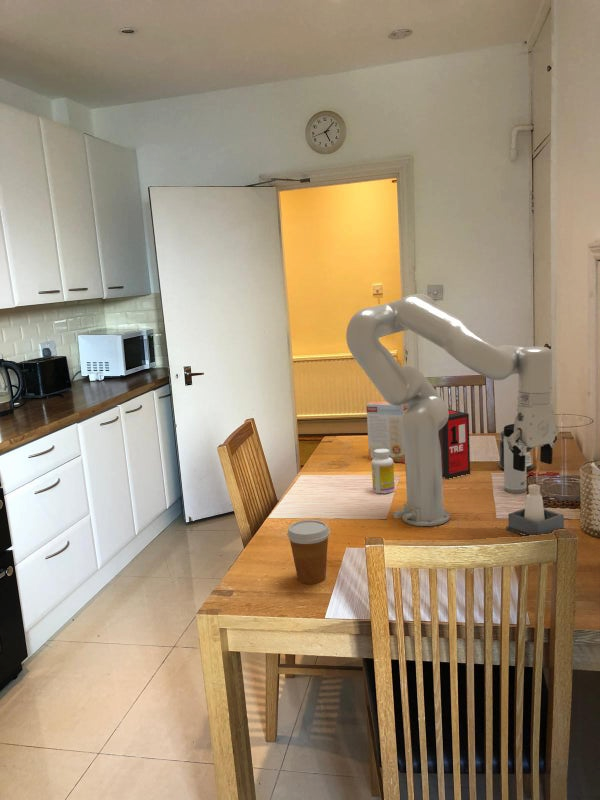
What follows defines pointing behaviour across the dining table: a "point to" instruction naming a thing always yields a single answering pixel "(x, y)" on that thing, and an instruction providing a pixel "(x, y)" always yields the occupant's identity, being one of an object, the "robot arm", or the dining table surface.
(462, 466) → the cleaning product box
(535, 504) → the pepper shaker
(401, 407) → the cracker box
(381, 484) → the supplement bottle
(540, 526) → the grey square tray
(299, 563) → the disposable coffee cup
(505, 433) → the travel mug
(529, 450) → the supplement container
